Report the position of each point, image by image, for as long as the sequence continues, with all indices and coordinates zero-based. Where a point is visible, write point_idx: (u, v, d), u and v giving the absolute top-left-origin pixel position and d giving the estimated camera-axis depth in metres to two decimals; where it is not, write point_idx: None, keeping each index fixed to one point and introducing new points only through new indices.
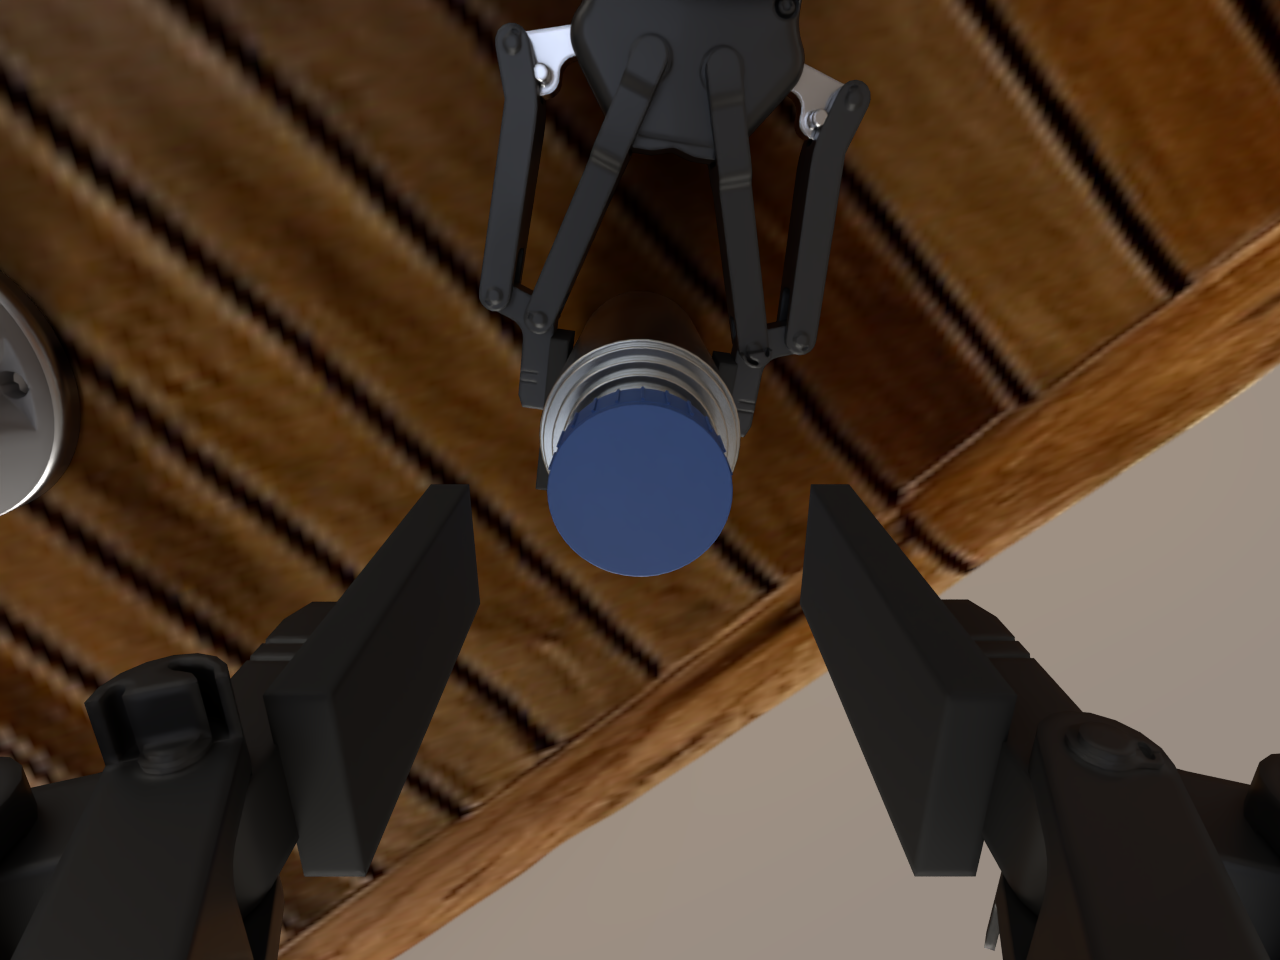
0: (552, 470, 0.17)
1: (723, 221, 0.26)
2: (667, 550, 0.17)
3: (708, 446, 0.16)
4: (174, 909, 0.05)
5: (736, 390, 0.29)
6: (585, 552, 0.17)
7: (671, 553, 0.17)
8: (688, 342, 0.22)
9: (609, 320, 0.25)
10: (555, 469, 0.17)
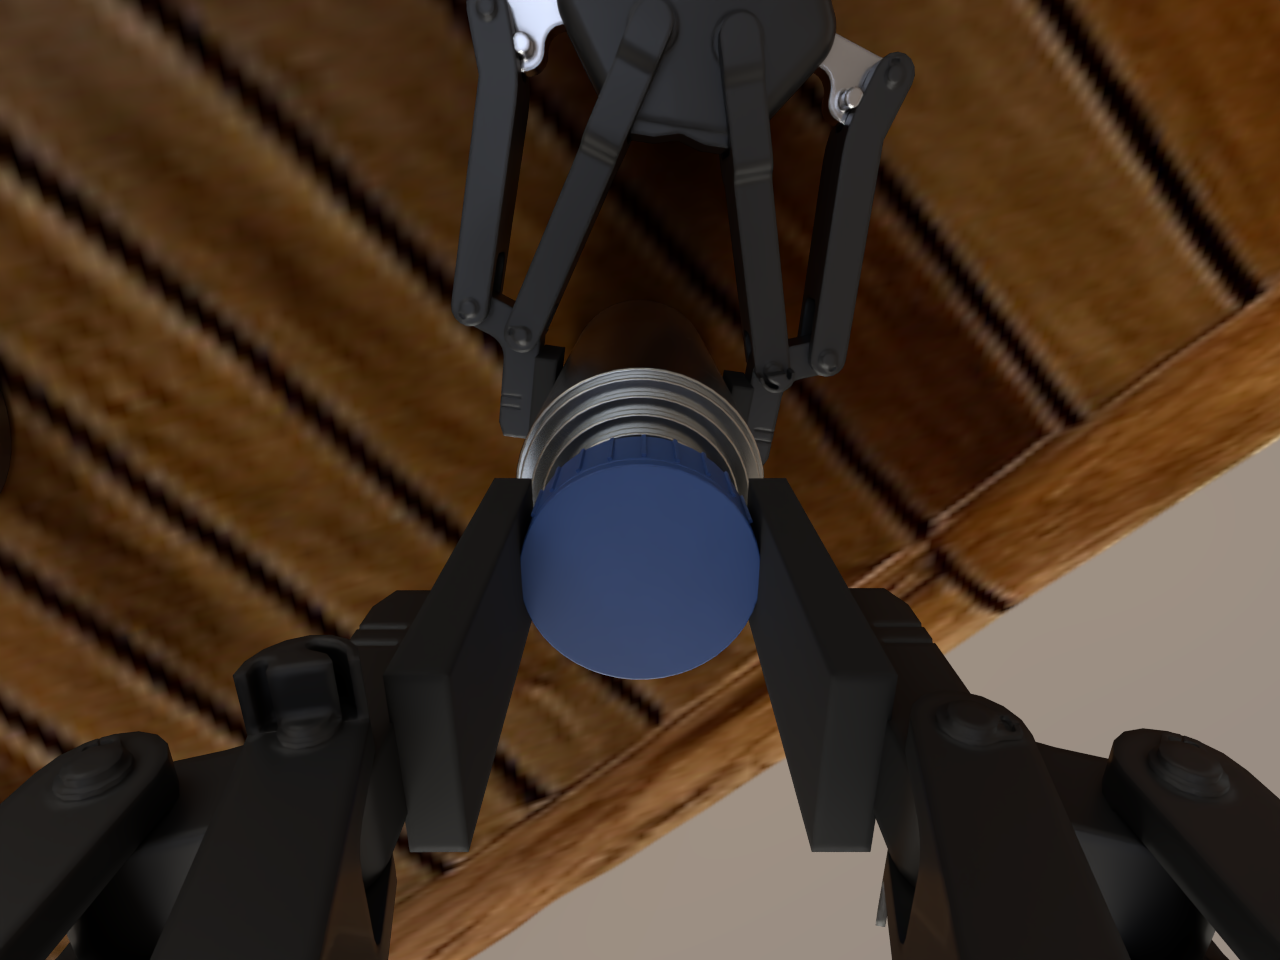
0: (525, 548, 0.13)
1: (738, 221, 0.22)
2: (675, 647, 0.13)
3: (730, 517, 0.12)
4: (313, 882, 0.06)
5: (751, 417, 0.25)
6: (569, 650, 0.13)
7: (681, 651, 0.13)
8: (699, 368, 0.18)
9: (603, 338, 0.21)
10: (529, 547, 0.13)
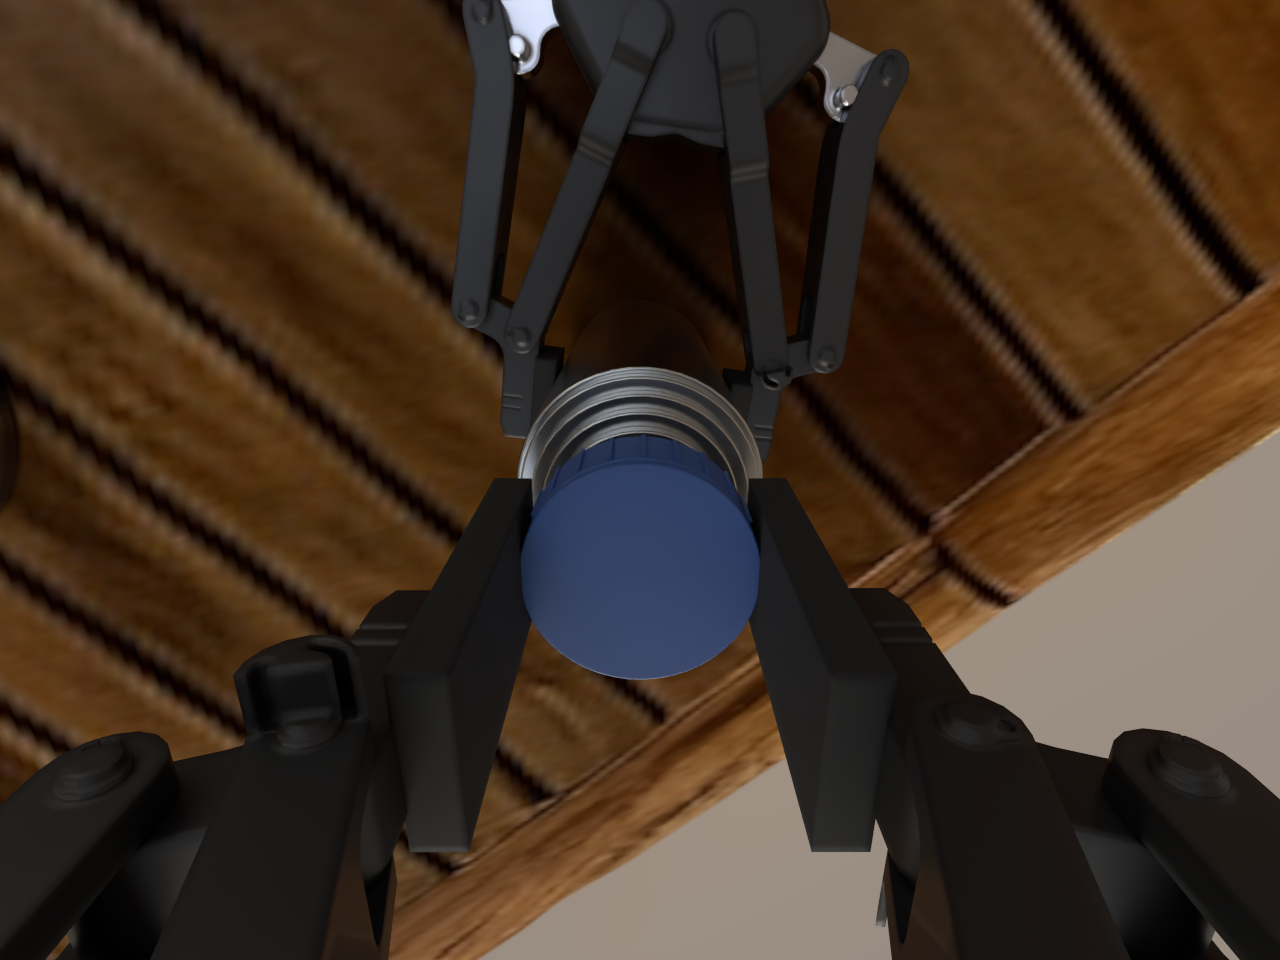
0: (675, 673, 0.13)
1: (735, 219, 0.22)
2: (686, 507, 0.12)
3: (533, 548, 0.13)
4: (312, 882, 0.06)
5: (751, 414, 0.25)
6: (750, 588, 0.13)
7: (687, 500, 0.12)
8: (697, 367, 0.18)
9: (602, 338, 0.21)
10: (672, 671, 0.13)
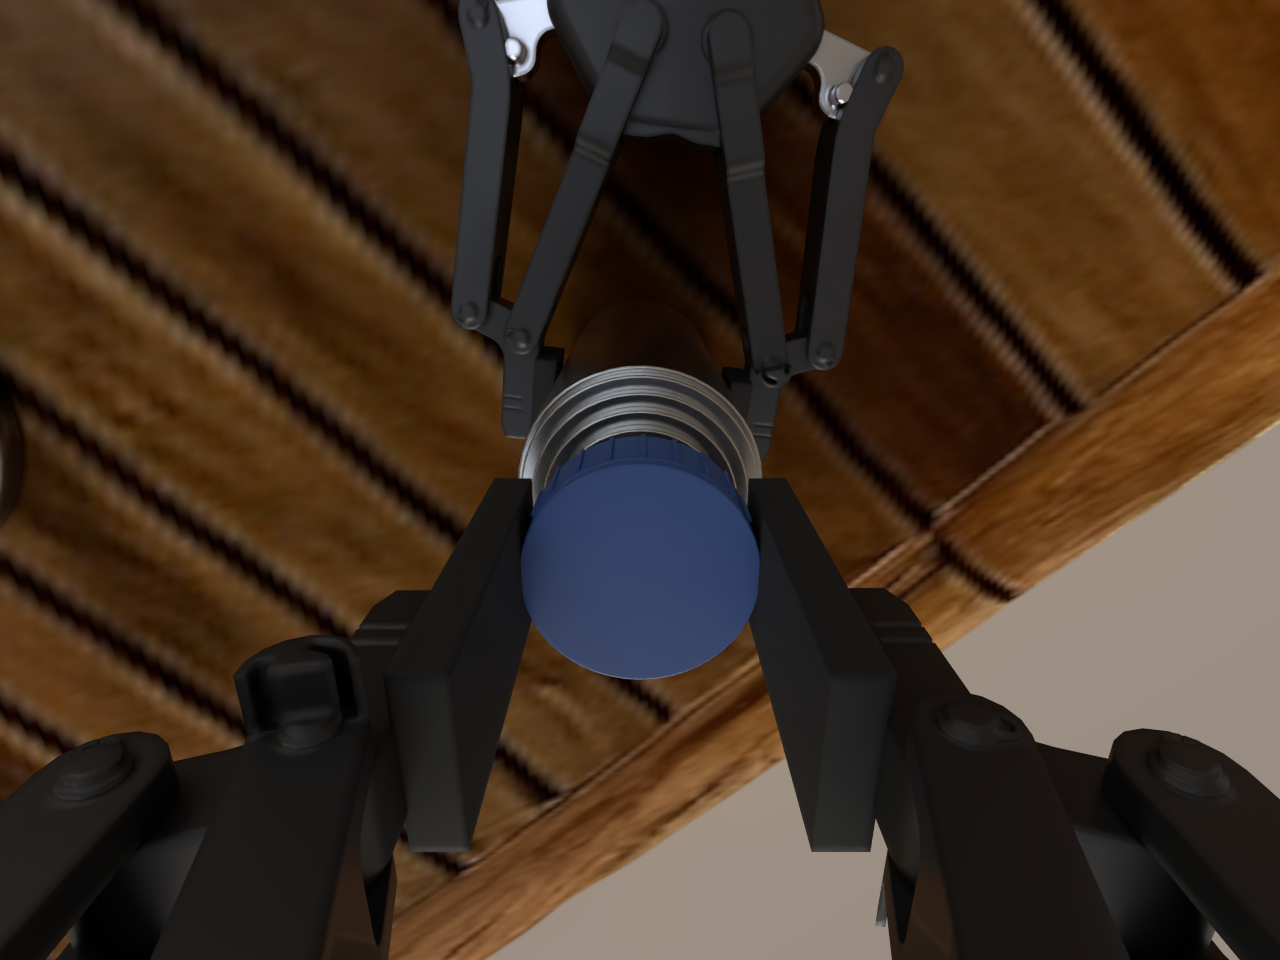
0: (713, 490, 0.12)
1: (732, 218, 0.22)
2: (552, 586, 0.13)
3: (672, 666, 0.13)
4: (312, 882, 0.06)
5: (751, 412, 0.25)
6: (582, 487, 0.12)
7: (546, 589, 0.13)
8: (696, 365, 0.18)
9: (601, 338, 0.21)
10: (713, 494, 0.12)
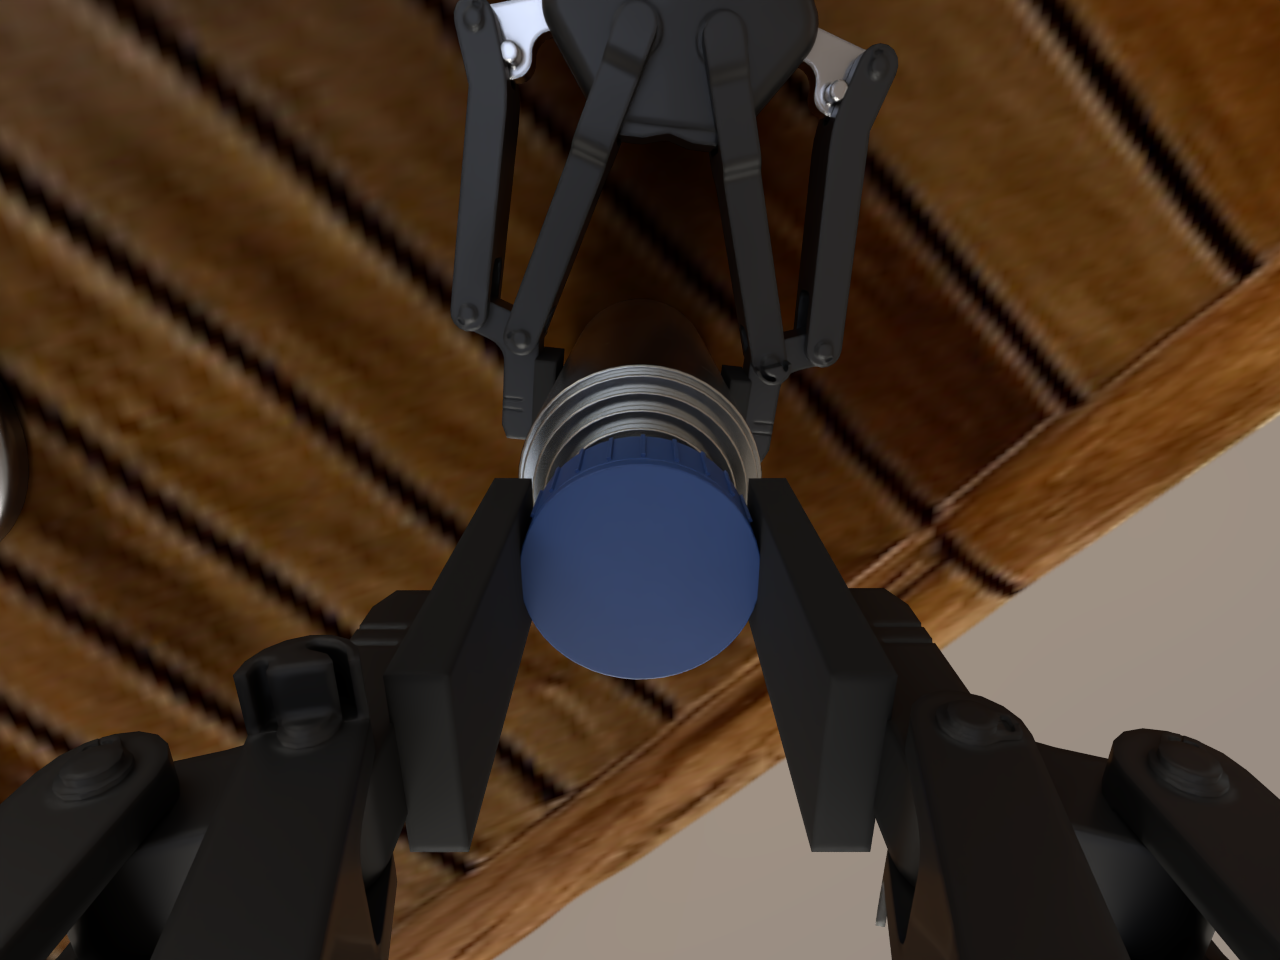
0: None
1: (729, 217, 0.22)
2: (696, 636, 0.13)
3: (708, 496, 0.12)
4: (312, 883, 0.06)
5: (750, 410, 0.25)
6: (594, 663, 0.13)
7: (702, 638, 0.13)
8: (694, 363, 0.18)
9: (600, 338, 0.22)
10: (525, 575, 0.13)
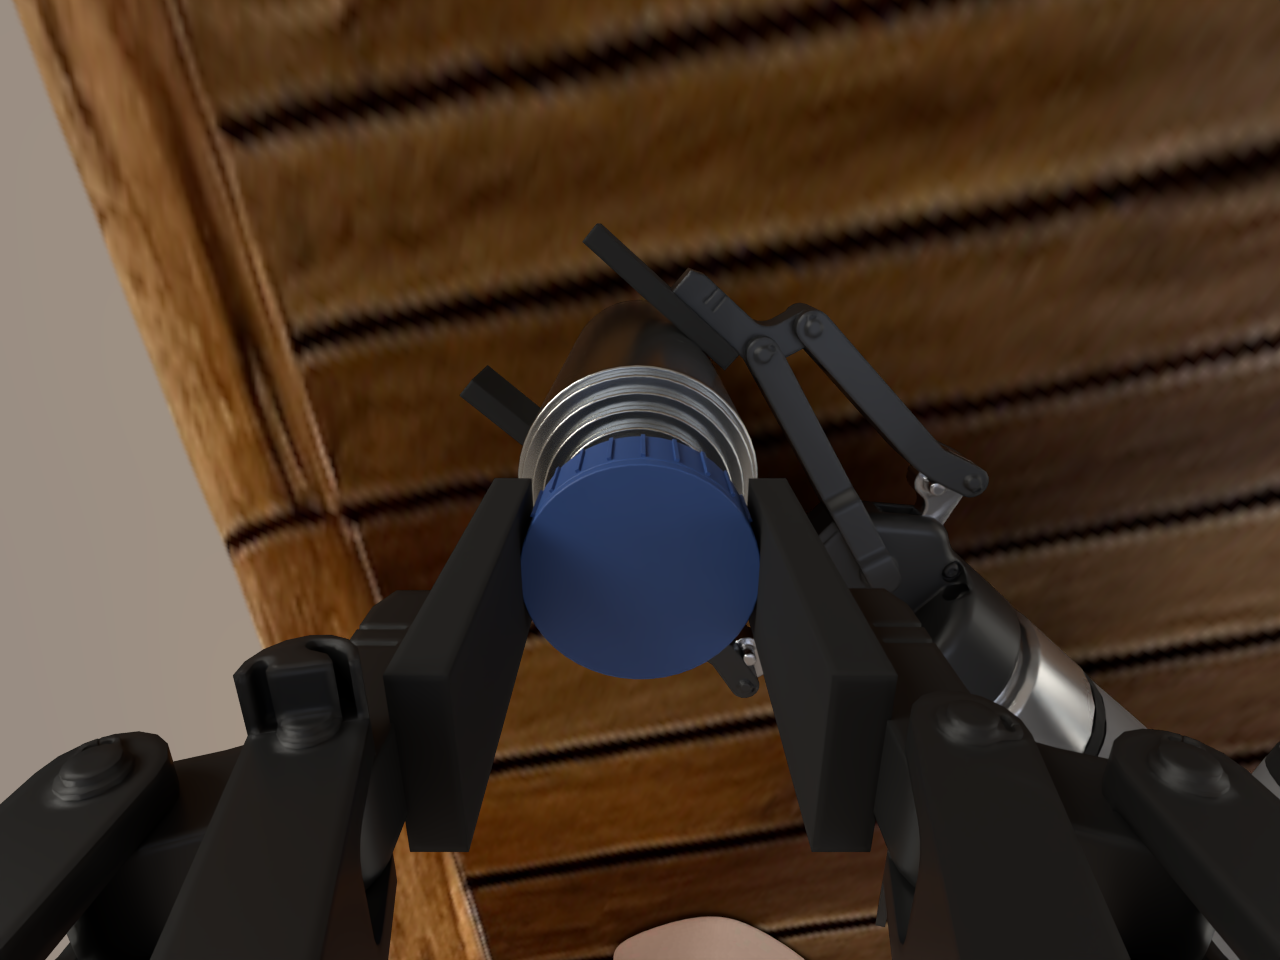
0: (522, 577, 0.13)
1: None
2: (696, 636, 0.13)
3: (709, 496, 0.12)
4: (312, 882, 0.06)
5: None
6: (595, 663, 0.13)
7: (702, 638, 0.13)
8: None
9: None
10: (525, 575, 0.13)
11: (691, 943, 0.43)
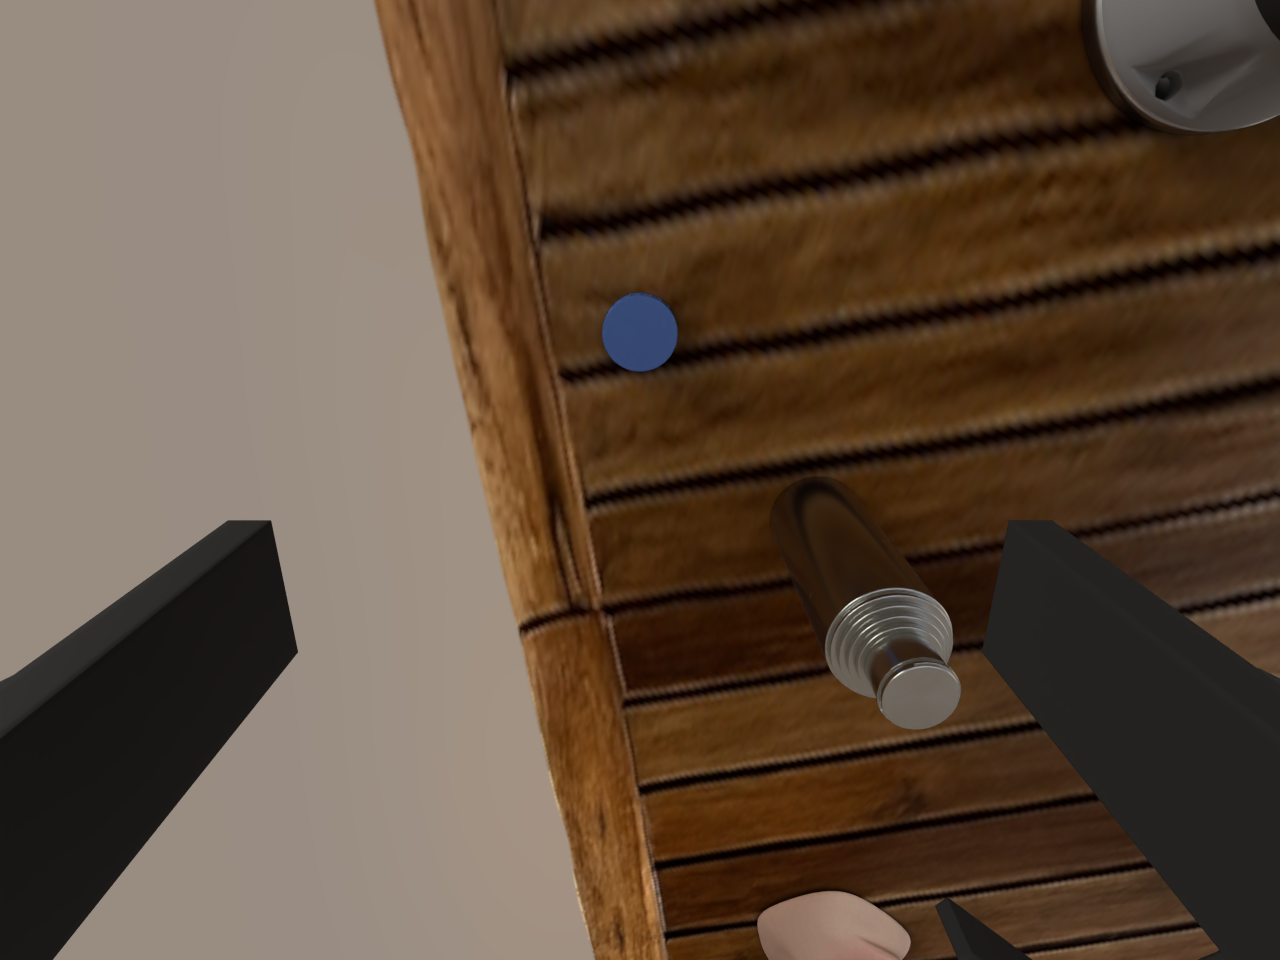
0: (603, 333, 0.41)
1: None
2: (657, 355, 0.42)
3: (660, 306, 0.41)
4: None
5: None
6: (625, 365, 0.42)
7: (659, 356, 0.42)
8: None
9: None
10: (604, 333, 0.41)
11: (818, 910, 0.59)
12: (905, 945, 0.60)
